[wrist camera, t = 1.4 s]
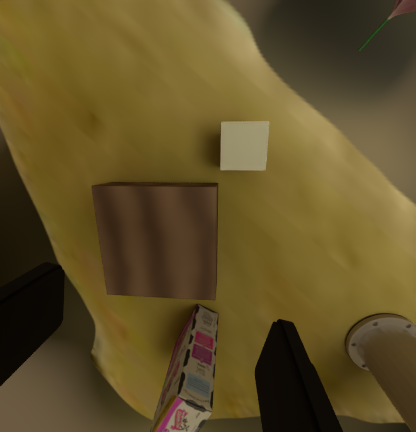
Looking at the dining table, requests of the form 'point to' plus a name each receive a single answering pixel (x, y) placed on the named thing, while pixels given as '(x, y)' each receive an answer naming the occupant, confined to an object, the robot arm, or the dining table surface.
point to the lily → (396, 13)
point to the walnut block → (158, 238)
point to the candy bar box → (189, 376)
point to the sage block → (244, 145)
